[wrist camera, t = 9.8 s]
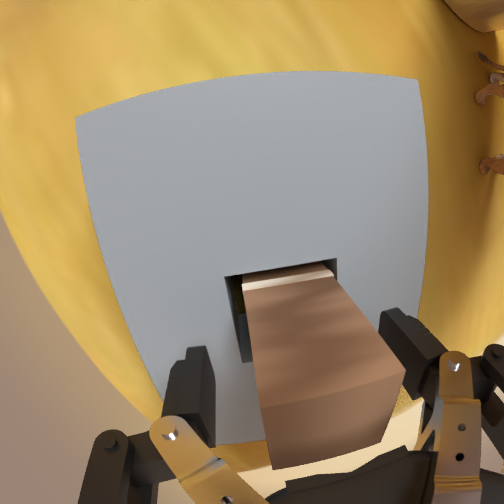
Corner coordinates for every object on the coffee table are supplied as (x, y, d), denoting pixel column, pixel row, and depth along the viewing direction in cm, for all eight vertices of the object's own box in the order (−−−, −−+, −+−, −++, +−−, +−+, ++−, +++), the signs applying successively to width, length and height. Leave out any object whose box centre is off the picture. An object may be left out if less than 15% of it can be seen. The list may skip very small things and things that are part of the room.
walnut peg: (302, 238, 18) (407, 368, 6) (306, 295, 19) (381, 442, 8) (237, 248, 17) (257, 406, 6) (246, 305, 19) (271, 470, 8)
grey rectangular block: (372, 93, 15) (417, 79, 10) (371, 367, 22) (393, 405, 18) (114, 125, 14) (74, 117, 9) (193, 400, 22) (189, 446, 17)
